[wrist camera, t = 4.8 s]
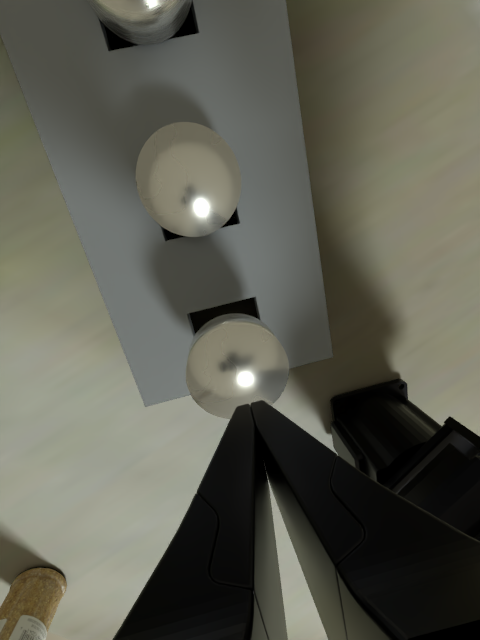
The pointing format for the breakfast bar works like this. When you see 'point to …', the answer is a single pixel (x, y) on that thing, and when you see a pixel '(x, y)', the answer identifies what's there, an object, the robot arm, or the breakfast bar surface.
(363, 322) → the breakfast bar surface
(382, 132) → the breakfast bar surface
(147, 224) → the mount
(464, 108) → the breakfast bar surface
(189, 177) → the knob middle
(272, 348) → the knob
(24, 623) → the sprinkles bottle
